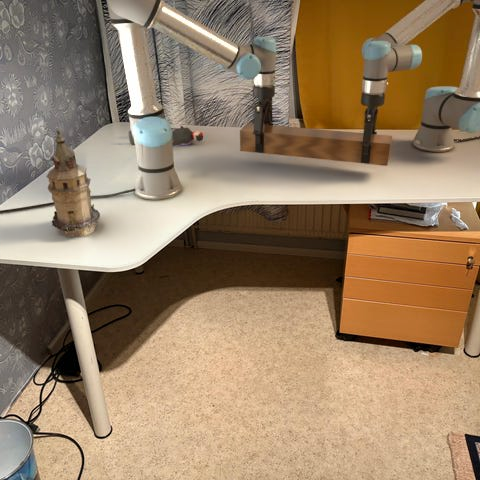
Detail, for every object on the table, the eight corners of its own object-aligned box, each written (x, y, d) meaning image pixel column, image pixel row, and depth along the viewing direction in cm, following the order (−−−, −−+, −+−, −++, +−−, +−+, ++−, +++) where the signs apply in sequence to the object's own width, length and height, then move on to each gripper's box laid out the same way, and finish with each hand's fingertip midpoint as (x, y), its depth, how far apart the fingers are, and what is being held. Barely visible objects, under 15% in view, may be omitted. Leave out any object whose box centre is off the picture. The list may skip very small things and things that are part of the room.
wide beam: (240, 151, 194) (239, 130, 190) (247, 143, 201) (247, 123, 197) (387, 165, 179) (390, 143, 176) (389, 156, 187) (392, 135, 183)
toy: (143, 119, 231) (210, 119, 225) (145, 133, 234) (211, 133, 228) (119, 138, 209) (193, 139, 203) (122, 153, 212) (195, 154, 206)
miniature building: (80, 214, 164) (63, 117, 149) (111, 225, 157) (96, 125, 142) (44, 231, 154) (22, 130, 140) (75, 244, 147) (55, 139, 133)
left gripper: (265, 93, 174) (264, 158, 185) (282, 78, 192) (280, 139, 203) (243, 91, 176) (243, 156, 187) (262, 77, 194) (261, 137, 205)
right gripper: (381, 101, 164) (374, 170, 175) (388, 84, 181) (381, 148, 193) (357, 100, 166) (351, 168, 177) (366, 83, 184) (360, 146, 195)
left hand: (262, 147), depth 195 cm, fingers closed on wide beam, 9 cm apart
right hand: (366, 157), depth 185 cm, fingers closed on wide beam, 9 cm apart
